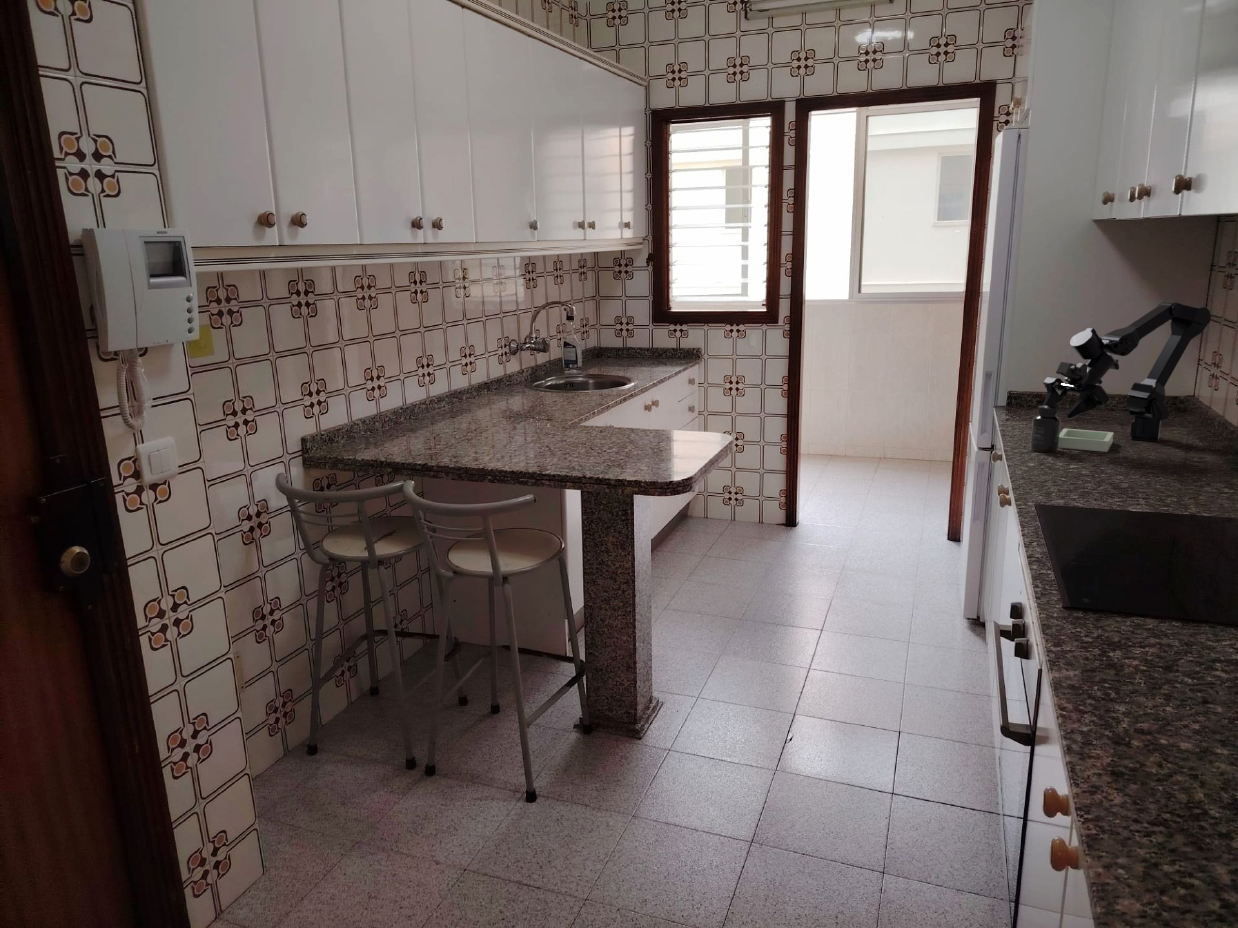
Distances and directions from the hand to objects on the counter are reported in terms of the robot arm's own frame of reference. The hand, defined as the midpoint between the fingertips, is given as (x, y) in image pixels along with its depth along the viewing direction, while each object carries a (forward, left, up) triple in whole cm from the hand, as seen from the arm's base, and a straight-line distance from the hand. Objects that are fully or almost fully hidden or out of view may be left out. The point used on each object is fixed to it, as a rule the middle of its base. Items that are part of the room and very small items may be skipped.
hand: (1054, 414), depth 230 cm
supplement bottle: (+2, +2, -10) cm, 10 cm away
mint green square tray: (-7, -9, -10) cm, 15 cm away
